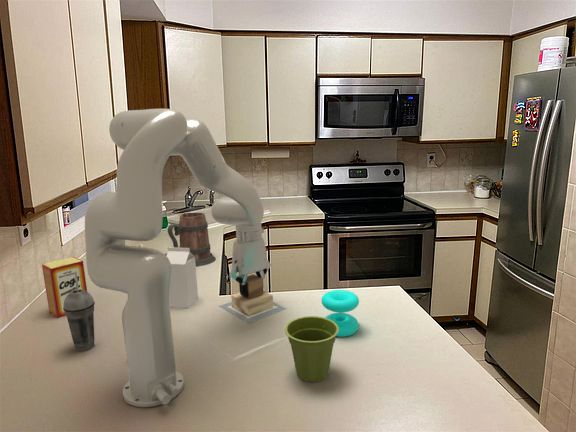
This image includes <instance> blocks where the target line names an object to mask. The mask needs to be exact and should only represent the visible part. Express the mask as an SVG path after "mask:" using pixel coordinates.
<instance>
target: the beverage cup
mask: <svg viewBox="0 0 576 432" xmlns="http://www.w3.org/2000/svg"><path fill="white" fill-rule="evenodd" d="M75 281H76V290H74V291H72V292H71V293H69V294H68V295H67V297H66V298H65V300H64V308H63V310H64V312H65V315H66V316H65V317H66V318H67V323H68V327H69V330H70V331H69V332H70V334H71V338H72V343H73V345H74V348H75V351H76V352H86V351H89V350H91V349H93V348H95V316H94V311H95V301H94V297H93V295H92V294H91V293H90V292H89V291H88V290H87V291H85V290H79V288H78V279H77V272H76V273H75Z"/></svg>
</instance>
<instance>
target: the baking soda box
mask: <svg viewBox="0 0 576 432" xmlns="http://www.w3.org/2000/svg"><path fill="white" fill-rule="evenodd" d="M84 266H85V265H84V260H83V259H81V258H77V257H75V256H73V257H68V258H64V259H57V260H54V261H53V260H52V261H51V262H50V261H49V262H47V263H43V264H42V265H41V268H42V274H43V275H42V276H43V280H44V286H45V288H44V289H45V293H46V299H47V305H48V312H50V313H49V314H51V313H52V314H53V315H52V314H51V315H52V316H54V317H55V316H56V318H57V319H60V318H64V317H66V315H65V312H64V310H63V308H64V300H65V298H66V297H67V295H68V294H69V293H71V292H72V291H74V290H76V281H75V273H76V272H77V279H78V288H79V290H85V291H87V292H88V287H87V280H86V272H85V267H84Z"/></svg>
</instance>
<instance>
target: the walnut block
mask: <svg viewBox="0 0 576 432" xmlns="http://www.w3.org/2000/svg"><path fill="white" fill-rule="evenodd" d="M246 284H247V287H248V298H250V299H251V298H253V297H256V296H259V295H262V294H263V291H264V279H263V278H260V277H258V276H256V274H254V273H251V274H248V275H247V279H246Z"/></svg>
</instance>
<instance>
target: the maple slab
mask: <svg viewBox="0 0 576 432" xmlns="http://www.w3.org/2000/svg"><path fill="white" fill-rule="evenodd" d="M230 296H231V297H230V298H231V302H232V307H233V308H235V309H236V310H238V311H240V312H242V313H244V314H245V315H247V316H252V315H254V314H257V313H260V312H262V311H265V310H268V309H270V308H273V302H274V296H273V294H271V293H269V292H267V291H264V290H263V294H262V295H259V296H256V297H253V298H251V299H250V298H248V297H244V296H242V295H241V294H240V291H239V292H237V293H236V292H235V293H234V294H231V295H230Z"/></svg>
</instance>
